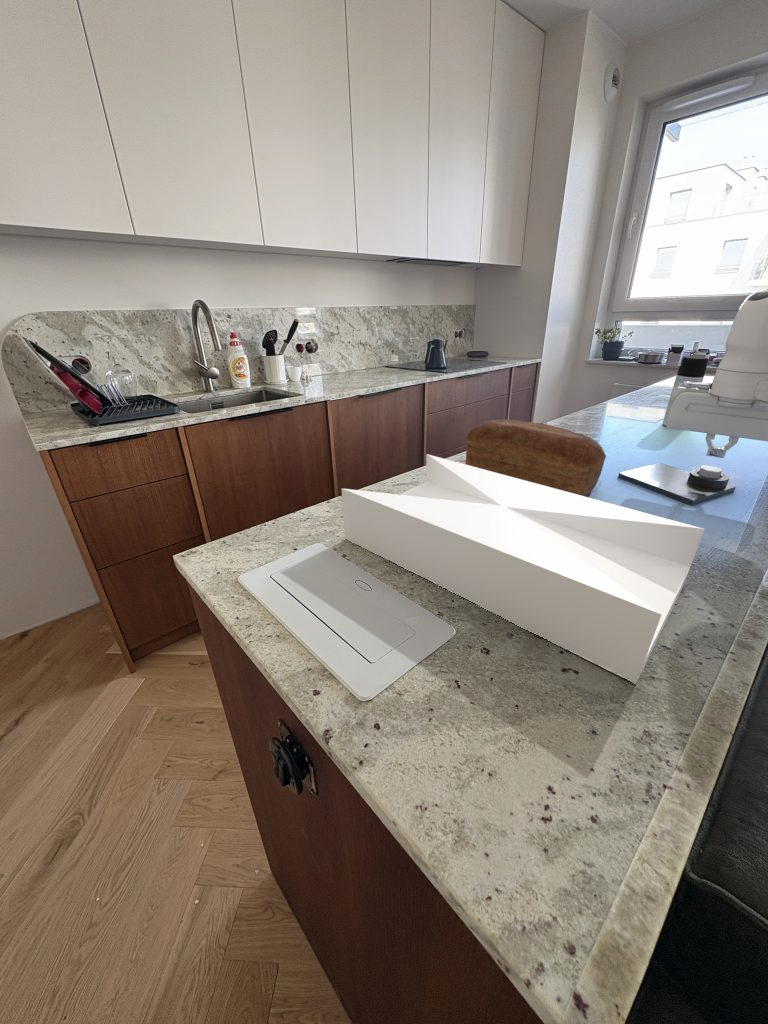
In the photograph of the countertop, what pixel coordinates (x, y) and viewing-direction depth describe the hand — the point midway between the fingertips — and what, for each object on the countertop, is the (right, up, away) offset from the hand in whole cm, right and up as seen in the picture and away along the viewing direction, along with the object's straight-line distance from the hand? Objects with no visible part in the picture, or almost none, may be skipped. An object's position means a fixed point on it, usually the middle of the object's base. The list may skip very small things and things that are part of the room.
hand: (714, 456), depth 85 cm
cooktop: (-5, -5, +5) cm, 9 cm away
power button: (0, -4, +2) cm, 4 cm away
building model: (-50, -19, -20) cm, 57 cm away
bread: (-35, -5, +8) cm, 37 cm away
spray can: (+22, +15, +44) cm, 52 cm away
